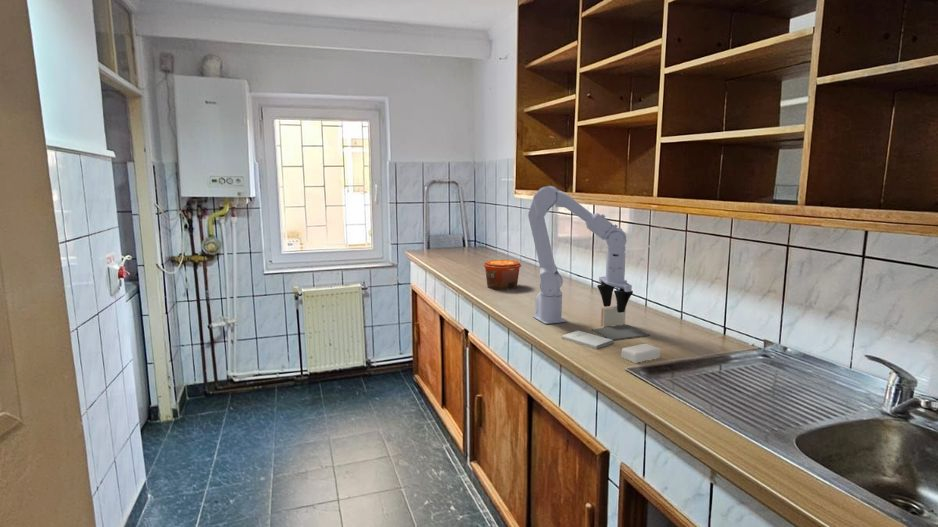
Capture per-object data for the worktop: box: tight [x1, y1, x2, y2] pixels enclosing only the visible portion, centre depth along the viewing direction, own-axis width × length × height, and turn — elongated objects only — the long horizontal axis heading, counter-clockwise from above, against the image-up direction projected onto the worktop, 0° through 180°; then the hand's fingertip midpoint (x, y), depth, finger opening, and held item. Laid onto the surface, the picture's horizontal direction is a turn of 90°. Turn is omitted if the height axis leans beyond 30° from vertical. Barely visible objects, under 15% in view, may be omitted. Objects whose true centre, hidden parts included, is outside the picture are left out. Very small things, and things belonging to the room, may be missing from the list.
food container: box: [483, 259, 522, 291], centre depth 222 cm, size 16×16×11 cm
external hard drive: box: [561, 330, 614, 350], centre depth 151 cm, size 2×8×12 cm
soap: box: [621, 343, 661, 364], centre depth 137 cm, size 9×6×3 cm, turn 116°
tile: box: [600, 305, 627, 328], centre depth 166 cm, size 2×8×6 cm, turn 109°
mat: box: [591, 324, 651, 341], centre depth 158 cm, size 10×14×1 cm
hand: (613, 309), depth 165 cm, fingers open, 7 cm apart
